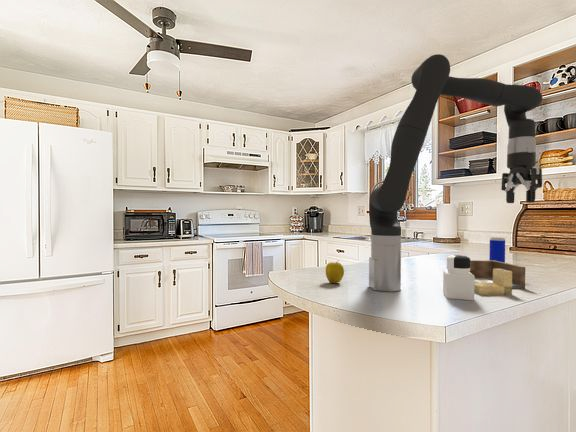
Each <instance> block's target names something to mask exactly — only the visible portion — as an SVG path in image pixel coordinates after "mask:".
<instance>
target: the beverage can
mask: <svg viewBox="0 0 576 432" xmlns="http://www.w3.org/2000/svg"><path fill="white" fill-rule="evenodd" d="M488 260H495V261H499V262H504V263H506V238H505V237H498V236H492V237H490V238H489V259H488Z"/></svg>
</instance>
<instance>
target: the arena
mask: <svg viewBox="0 0 576 432" xmlns="http://www.w3.org/2000/svg"><path fill="white" fill-rule="evenodd" d="M493 269H504V270H508V271H512V290H513V289H516V290H517V289H518V290H519V289H521V290H523V289H524V290H525V289H526V267H525V266H522V265H517V264H512V263H508V262H505V263H504V262H499V261H495V260H489V259H488V260H487V259H486V260H484V259H483V260H482V259H481V260H480V259H479V260H478V259H475V260H473V259H470V271H469V272H470V273H472V274H473V275H474V276H475V283H493Z"/></svg>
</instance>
